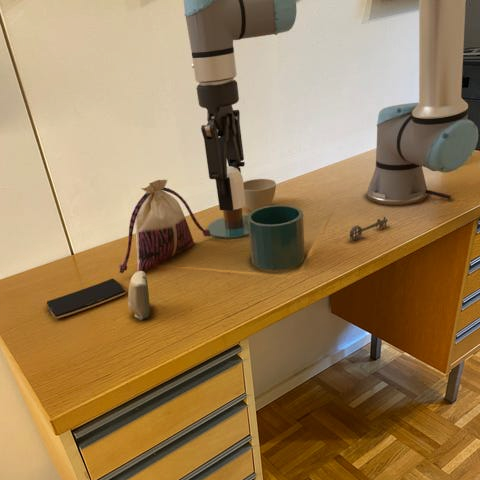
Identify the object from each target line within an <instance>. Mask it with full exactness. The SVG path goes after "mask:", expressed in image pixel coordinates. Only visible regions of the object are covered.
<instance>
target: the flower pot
mask: <svg viewBox="0 0 480 480" xmlns="http://www.w3.org/2000/svg"><path fill="white" fill-rule="evenodd" d="M243 185H244V194H245V202H246V204H245V207H247V209H248V210H249V211H250V212H252V211H254V210H256V209H259V208H262V207H266V206H272V203H273V200H274V198H275V194H276V189H277V182H276V181H275V180H274V179H269V178H254V179H249V180H245V181H243Z"/></svg>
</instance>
